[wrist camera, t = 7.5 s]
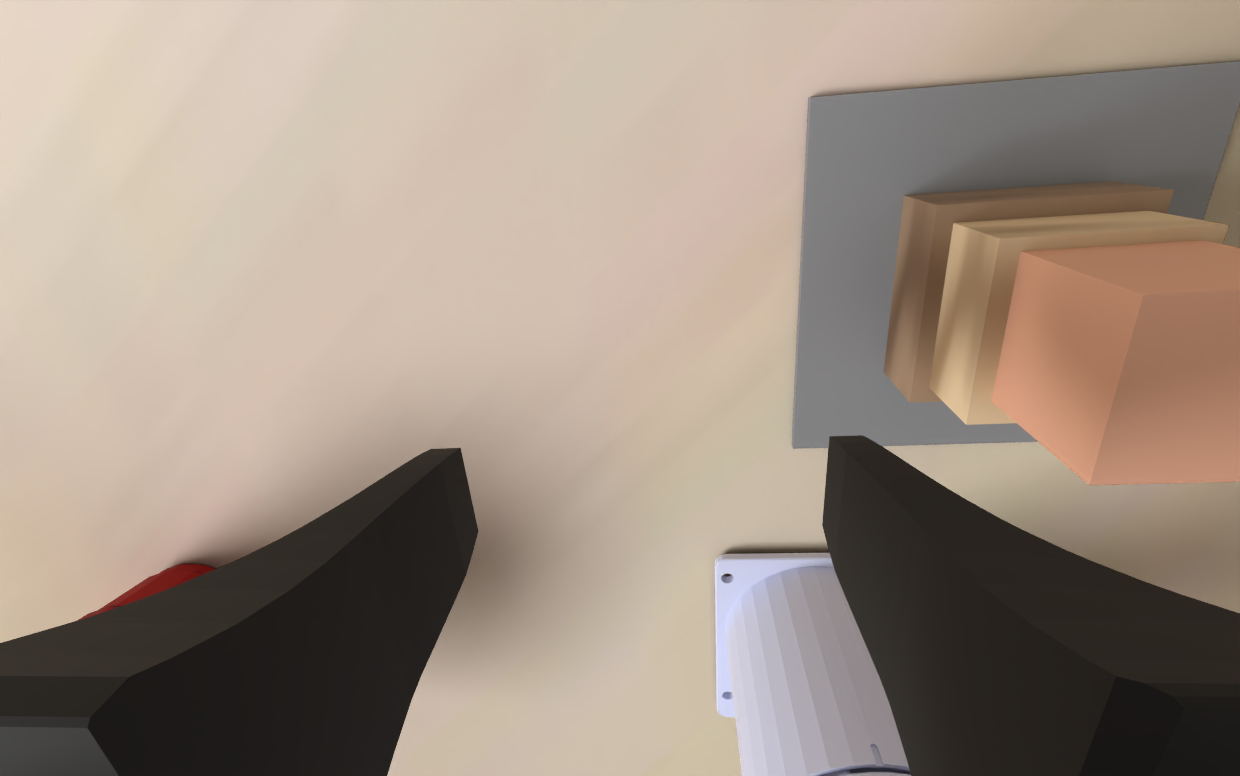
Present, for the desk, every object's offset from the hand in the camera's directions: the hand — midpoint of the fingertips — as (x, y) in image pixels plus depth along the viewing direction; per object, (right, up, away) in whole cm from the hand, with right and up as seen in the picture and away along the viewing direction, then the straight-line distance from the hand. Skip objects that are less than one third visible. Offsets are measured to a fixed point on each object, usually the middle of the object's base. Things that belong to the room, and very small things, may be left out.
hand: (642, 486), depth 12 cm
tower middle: (+11, +4, +6) cm, 13 cm away
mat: (+12, +5, +8) cm, 15 cm away
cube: (+11, +3, +3) cm, 12 cm away
